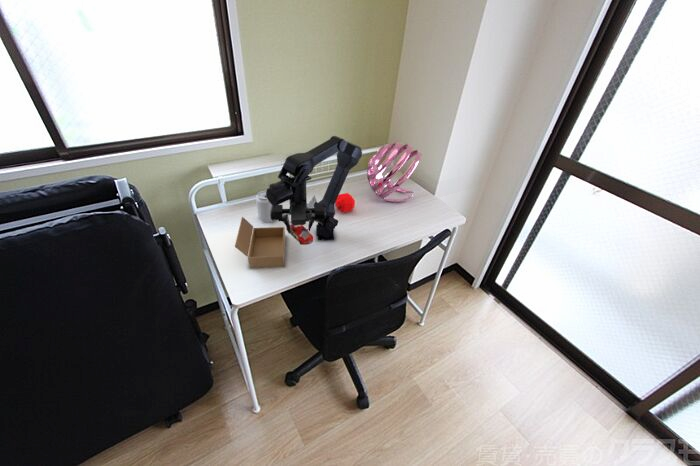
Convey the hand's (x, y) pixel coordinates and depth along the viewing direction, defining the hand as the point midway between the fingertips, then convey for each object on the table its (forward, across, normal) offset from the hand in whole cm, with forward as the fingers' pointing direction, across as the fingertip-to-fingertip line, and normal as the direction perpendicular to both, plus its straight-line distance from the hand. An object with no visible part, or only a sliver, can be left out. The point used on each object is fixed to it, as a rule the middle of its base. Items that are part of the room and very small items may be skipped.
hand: (299, 230), depth 110 cm
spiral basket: (+10, +44, +39) cm, 60 cm away
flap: (+2, -19, 0) cm, 19 cm away
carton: (+10, -12, 0) cm, 15 cm away
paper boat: (+10, +4, +26) cm, 28 cm away
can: (+10, -14, +22) cm, 27 cm away
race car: (+2, 0, 0) cm, 2 cm away
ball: (+10, +20, +26) cm, 35 cm away
